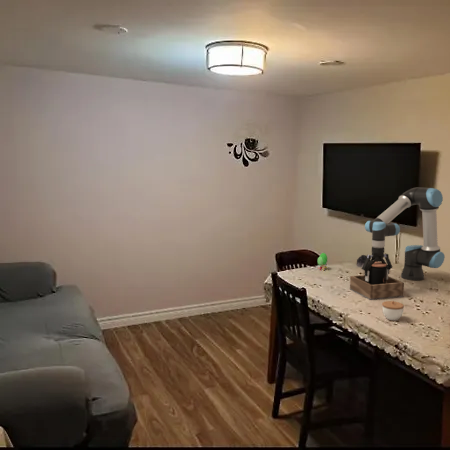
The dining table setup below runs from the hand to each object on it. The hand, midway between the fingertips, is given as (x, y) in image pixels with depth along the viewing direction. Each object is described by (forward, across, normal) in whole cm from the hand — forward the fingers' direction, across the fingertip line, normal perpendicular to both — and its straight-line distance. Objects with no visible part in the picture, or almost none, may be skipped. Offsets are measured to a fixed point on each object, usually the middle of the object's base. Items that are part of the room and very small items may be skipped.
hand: (376, 280), depth 285 cm
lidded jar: (+8, +18, +42) cm, 46 cm away
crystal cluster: (+9, -33, -65) cm, 74 cm away
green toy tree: (+9, +6, -65) cm, 66 cm away
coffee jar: (+8, 0, 0) cm, 8 cm away
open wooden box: (+8, 0, 0) cm, 8 cm away
